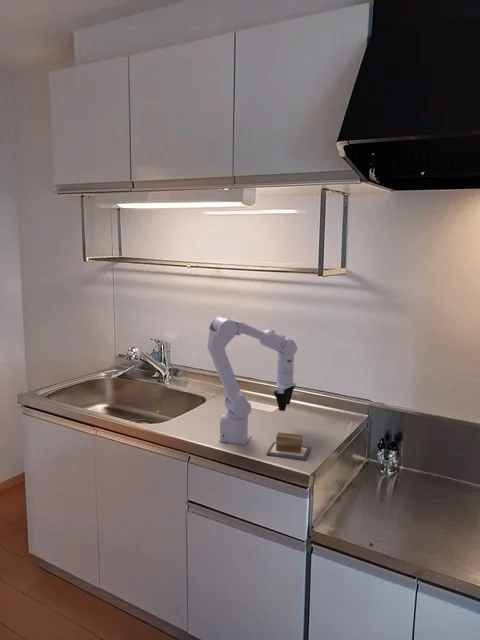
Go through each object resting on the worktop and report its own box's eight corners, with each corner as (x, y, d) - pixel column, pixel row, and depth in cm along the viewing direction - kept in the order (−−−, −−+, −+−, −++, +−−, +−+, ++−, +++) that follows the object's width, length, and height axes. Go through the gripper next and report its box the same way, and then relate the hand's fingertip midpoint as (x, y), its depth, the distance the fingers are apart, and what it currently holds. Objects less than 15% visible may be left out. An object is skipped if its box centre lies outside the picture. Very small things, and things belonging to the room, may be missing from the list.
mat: (266, 455, 168) (266, 453, 168) (273, 443, 178) (273, 441, 178) (305, 460, 165) (305, 458, 165) (310, 448, 174) (310, 446, 174)
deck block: (299, 453, 168) (300, 438, 168) (276, 450, 171) (276, 435, 170) (301, 449, 172) (302, 435, 171) (278, 446, 174) (278, 432, 173)
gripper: (292, 376, 177) (291, 414, 179) (300, 367, 191) (299, 402, 193) (272, 375, 179) (271, 412, 181) (281, 365, 193) (280, 400, 195)
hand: (284, 407), depth 187 cm, fingers open, 7 cm apart
